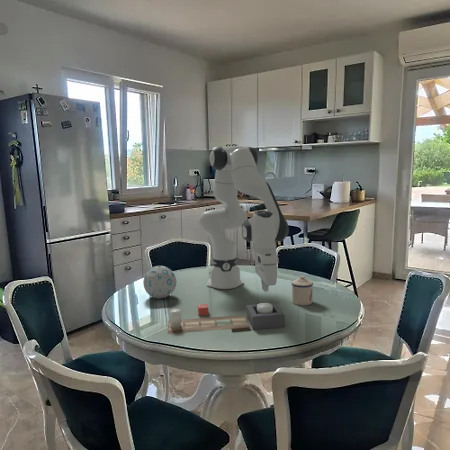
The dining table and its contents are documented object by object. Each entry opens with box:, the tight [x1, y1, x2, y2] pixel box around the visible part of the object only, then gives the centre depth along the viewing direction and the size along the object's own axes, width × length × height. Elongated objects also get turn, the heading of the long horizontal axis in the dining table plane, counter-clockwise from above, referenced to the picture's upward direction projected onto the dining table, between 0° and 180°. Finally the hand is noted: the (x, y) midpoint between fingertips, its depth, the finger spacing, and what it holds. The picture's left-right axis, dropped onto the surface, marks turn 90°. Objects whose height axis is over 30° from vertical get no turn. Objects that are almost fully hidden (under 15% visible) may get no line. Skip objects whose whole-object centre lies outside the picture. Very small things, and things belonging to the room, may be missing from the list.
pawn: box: [169, 308, 182, 329], centre depth 142 cm, size 4×4×6 cm
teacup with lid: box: [291, 275, 314, 306], centre depth 167 cm, size 12×9×12 cm
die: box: [197, 303, 210, 316], centre depth 154 cm, size 4×4×4 cm
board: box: [167, 314, 251, 335], centre depth 144 cm, size 12×30×1 cm, turn 97°
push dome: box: [257, 302, 273, 314], centre depth 146 cm, size 6×6×3 cm
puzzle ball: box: [143, 265, 177, 300], centre depth 177 cm, size 15×15×15 cm
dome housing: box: [246, 302, 285, 331], centre depth 146 cm, size 12×12×5 cm
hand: (265, 290), depth 144 cm, fingers closed
